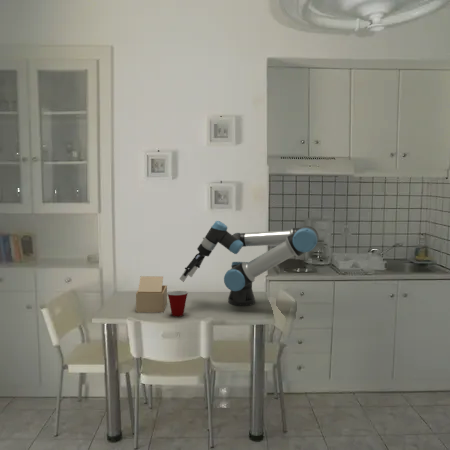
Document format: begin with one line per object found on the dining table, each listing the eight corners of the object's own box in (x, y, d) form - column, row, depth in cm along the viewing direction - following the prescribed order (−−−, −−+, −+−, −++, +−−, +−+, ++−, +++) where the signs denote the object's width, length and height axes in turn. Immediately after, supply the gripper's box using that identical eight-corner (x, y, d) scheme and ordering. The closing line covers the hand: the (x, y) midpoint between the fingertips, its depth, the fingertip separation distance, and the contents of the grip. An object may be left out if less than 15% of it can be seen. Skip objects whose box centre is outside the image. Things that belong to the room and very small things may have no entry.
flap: (161, 292, 241) (163, 277, 248) (161, 291, 241) (163, 276, 248) (138, 292, 241) (140, 277, 248) (138, 291, 241) (140, 276, 248)
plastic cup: (183, 310, 245) (183, 288, 243) (191, 316, 235) (191, 292, 234) (163, 313, 239) (163, 290, 238) (171, 319, 230) (171, 295, 229)
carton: (166, 303, 259) (166, 285, 258) (163, 312, 241) (163, 293, 240) (141, 302, 259) (141, 285, 258) (136, 312, 241) (136, 293, 240)
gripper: (207, 240, 263) (187, 270, 268) (194, 245, 239) (172, 278, 244) (218, 248, 262) (197, 277, 267) (205, 254, 238) (183, 286, 242)
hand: (185, 278), depth 255 cm, fingers open, 13 cm apart
